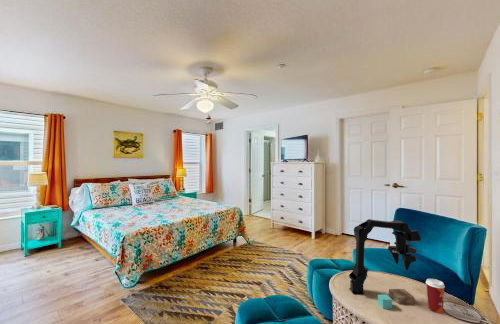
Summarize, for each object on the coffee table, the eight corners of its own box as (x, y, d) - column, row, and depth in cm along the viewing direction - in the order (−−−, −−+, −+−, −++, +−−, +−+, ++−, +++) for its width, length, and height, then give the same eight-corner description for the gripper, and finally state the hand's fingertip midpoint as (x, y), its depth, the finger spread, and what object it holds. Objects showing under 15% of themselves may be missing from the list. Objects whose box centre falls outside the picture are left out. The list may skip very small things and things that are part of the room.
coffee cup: (446, 316, 121) (446, 287, 121) (426, 311, 125) (426, 283, 125) (444, 307, 128) (443, 280, 128) (425, 303, 132) (424, 276, 132)
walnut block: (398, 304, 132) (398, 297, 132) (389, 295, 141) (388, 289, 141) (414, 304, 132) (414, 297, 132) (404, 295, 141) (403, 288, 141)
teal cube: (383, 308, 128) (382, 299, 128) (378, 303, 133) (377, 294, 133) (392, 308, 128) (392, 299, 128) (386, 303, 133) (386, 294, 133)
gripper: (425, 246, 137) (425, 273, 136) (404, 237, 155) (404, 260, 155) (406, 247, 137) (406, 274, 136) (387, 237, 155) (387, 261, 155)
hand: (401, 267), depth 146 cm, fingers open, 9 cm apart
